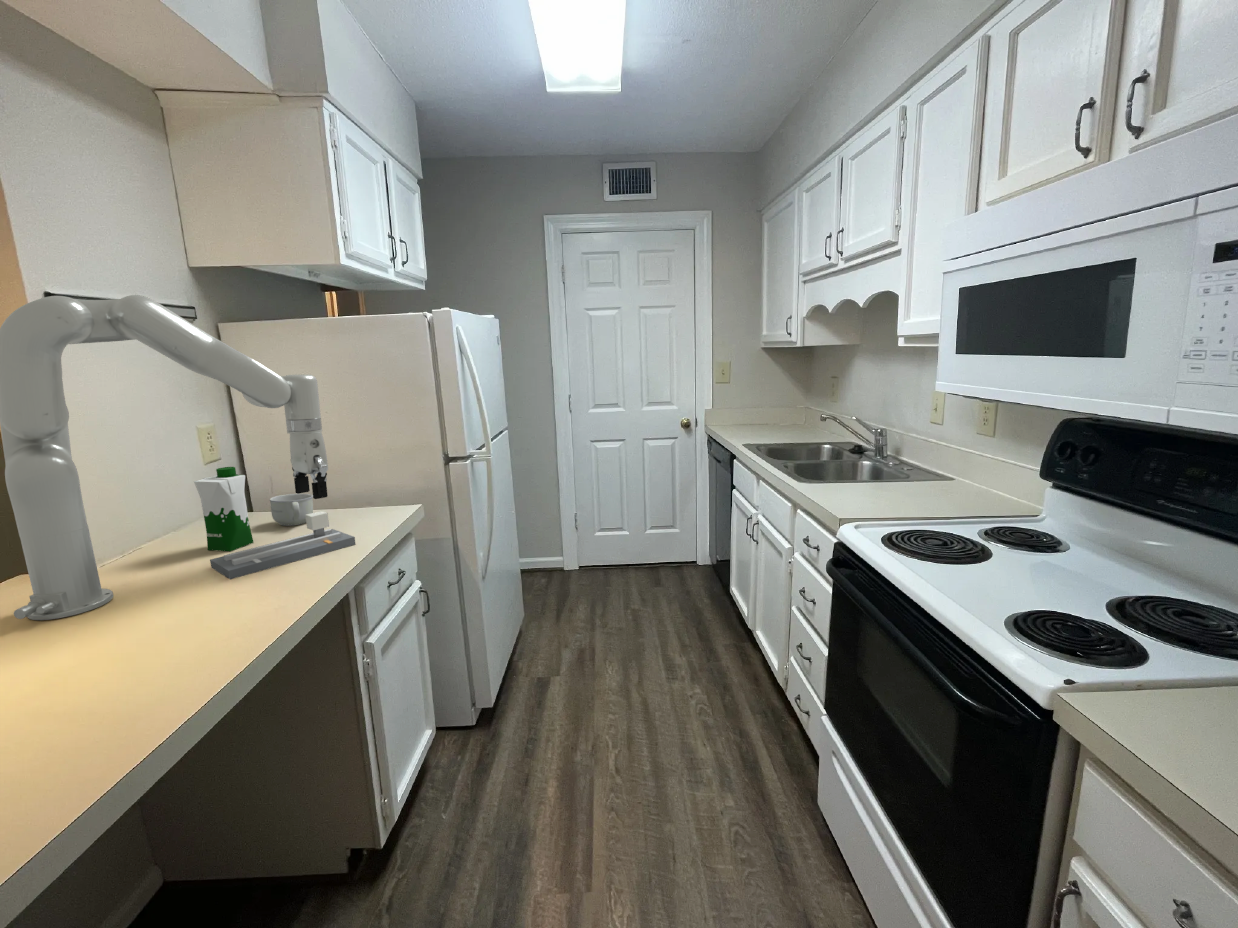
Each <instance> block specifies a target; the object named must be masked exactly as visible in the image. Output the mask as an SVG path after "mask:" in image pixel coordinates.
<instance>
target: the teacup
mask: <svg viewBox="0 0 1238 928" xmlns="http://www.w3.org/2000/svg"><path fill="white" fill-rule="evenodd" d="M313 500H314V498H313V494H309V493H299V494H297V493H287V494H283V495H282V494H281V495H276V496H272V497H270V498H269V502H270V512H271V517H272V519H273V521H275V523H278V524H279V525H281V526H286V527H287V526H291V527H292V526H298V525H303V524H305V523H306V515H307V514H311V513H314V501H313ZM306 524H307V523H306Z"/></svg>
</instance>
